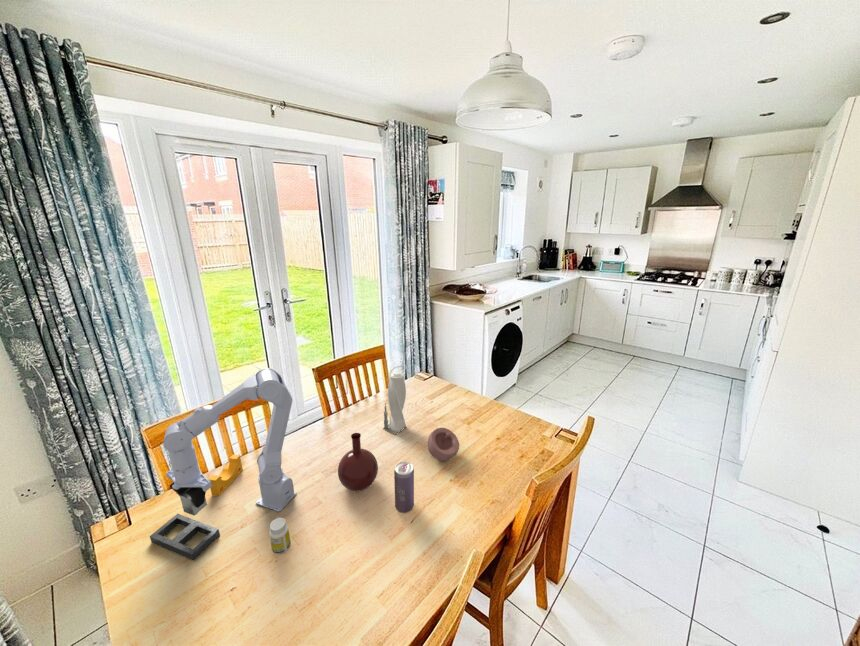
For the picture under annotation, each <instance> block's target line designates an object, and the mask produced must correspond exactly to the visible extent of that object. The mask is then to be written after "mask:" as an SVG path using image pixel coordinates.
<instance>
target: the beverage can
mask: <svg viewBox="0 0 860 646" xmlns="http://www.w3.org/2000/svg"><path fill="white" fill-rule="evenodd" d="M393 473H394V477H393V478H394V508H395V509H396V511H398V512H399V513H401V514H408V513H410V512H411V511H412V510H413V508H414V506H415V469H414V466H413V464H412V463H411V462H409V461H400V462H397V463H396V465H395V466H394V470H393Z"/></svg>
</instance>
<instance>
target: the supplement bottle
mask: <svg viewBox="0 0 860 646" xmlns="http://www.w3.org/2000/svg"><path fill="white" fill-rule="evenodd" d="M289 529H290V528H289V525H288V523H287V522H286V519H285V518H283V517H277V518H275V519H273V520H272V521H271V523H270V524H269V538H270V544H271V550H272V552H273V554H275V555H282V554H284V553H286V552H287V551H288V550H289V549H290V547H291V545H292V544H291V542H292V541H291V536H290V530H289Z"/></svg>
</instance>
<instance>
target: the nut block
mask: <svg viewBox="0 0 860 646" xmlns="http://www.w3.org/2000/svg"><path fill="white" fill-rule="evenodd" d="M191 488H192V487H190V488H188V489H187V490H186V491H185V492H183V493H182V494H181V495H180V496H179V497H180V502H181V505H182V510H183V512H184V513H187V514H189V515H191V516H196V515H197V514H199V513H200V512H201V511H202V510H203V509H204V508H205V507H207V506H208V502H207V499H206V498H207V497H205V500H204V503H203V504H202V505H201V506H200V507H199V508H197V507H196V506H195V505H194V503H193V500H192V498H191V497H190V496H189V495H188V494H186V492H187V491H188V490H189V489H191Z"/></svg>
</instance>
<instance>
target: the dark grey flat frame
mask: <svg viewBox="0 0 860 646" xmlns="http://www.w3.org/2000/svg"><path fill="white" fill-rule="evenodd" d="M177 526H182V527H184V528H183V529H182V530H181V531H180V532H179V533H177V534H176V535H175V536H174V537H173V538H172V539H171V538H169V537H166V535H168V533H170V532H171V531H172V530H173V529H175V527H177ZM198 533H200V534H203V535H205V537H204V538H203V539H202V540H200V541H199V542H198V543H197V544H196V545H195V547H193V548H192V547H190V546H187V545H186V544H187V543H188V542H190V541H191V540H192V539H193V538H194V537H196V536H197V534H198ZM220 536H221V534H220V530H219V528H216V527H214V526H212V525H209V524H206V523H204V522H201V521H198V520H196V519H192V518H191V517H188V516H185V515H183V514H180V513H177V514H175V515H174V516H172V518H170V519H169V520H168V521H166V522H165V523H164V524H163V525H162V526H160V527H159V528H158V529H156V531H154V532H152V534H150V535H149V539H150V543H151V544H154V545H156V546H158V547H160V548H162V549H165V550H167V551H170V552H171V553H175V554H176V555H179V556H181V557H184V558H186V559H188V560H191V561H193V562H194V561H196V560H197V559H198V558H199V556H201V555H202V554H203V553H204V552H205V551H206V550H207V549H208V548H209V547H210V546H211V545H212V544H213V543H214V542H215V541H216V540H217V539H218V538H219V537H220Z"/></svg>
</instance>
